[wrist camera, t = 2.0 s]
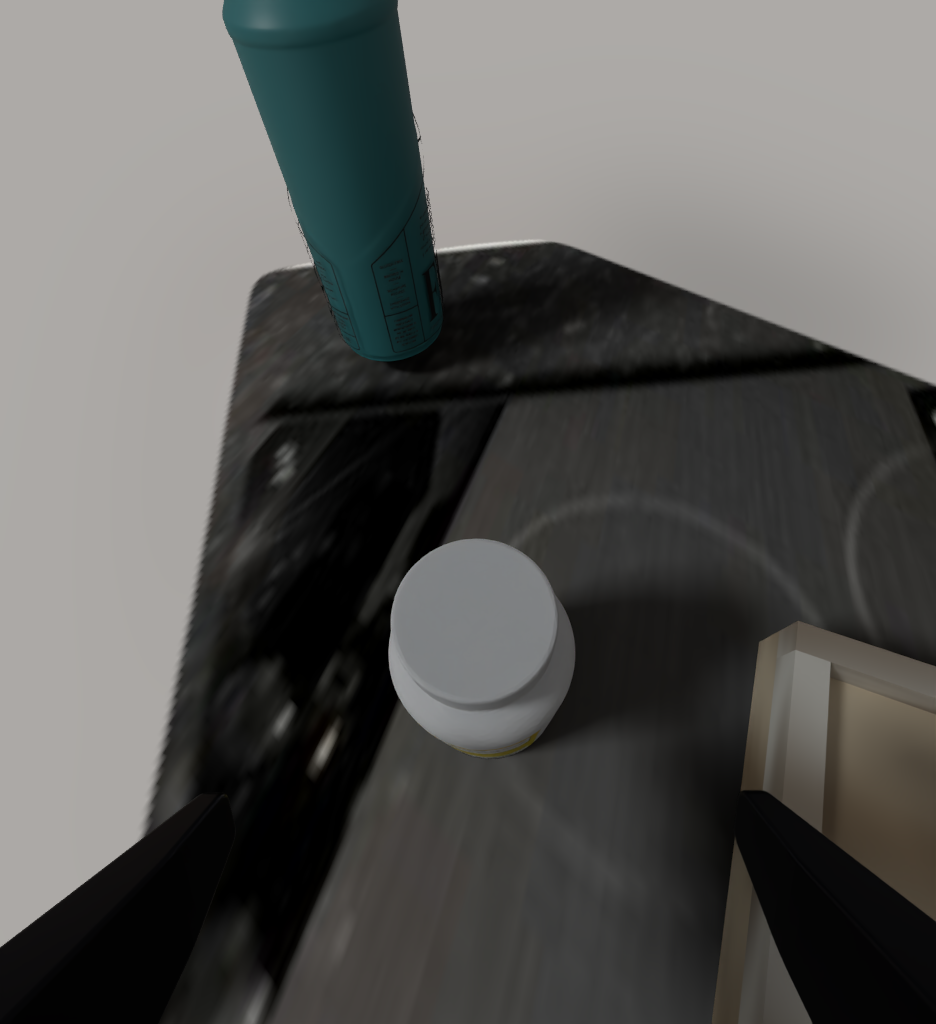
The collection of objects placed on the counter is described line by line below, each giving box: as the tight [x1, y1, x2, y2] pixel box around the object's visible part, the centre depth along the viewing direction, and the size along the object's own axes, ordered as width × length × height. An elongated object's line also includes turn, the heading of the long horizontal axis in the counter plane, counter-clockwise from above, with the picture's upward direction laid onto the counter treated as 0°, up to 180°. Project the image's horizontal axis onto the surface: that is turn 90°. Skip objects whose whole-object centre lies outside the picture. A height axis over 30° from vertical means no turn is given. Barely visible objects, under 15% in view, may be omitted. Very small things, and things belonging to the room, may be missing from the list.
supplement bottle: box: [389, 539, 575, 759], centre depth 15 cm, size 5×5×10 cm
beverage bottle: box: [223, 0, 445, 361], centre depth 21 cm, size 6×7×20 cm
